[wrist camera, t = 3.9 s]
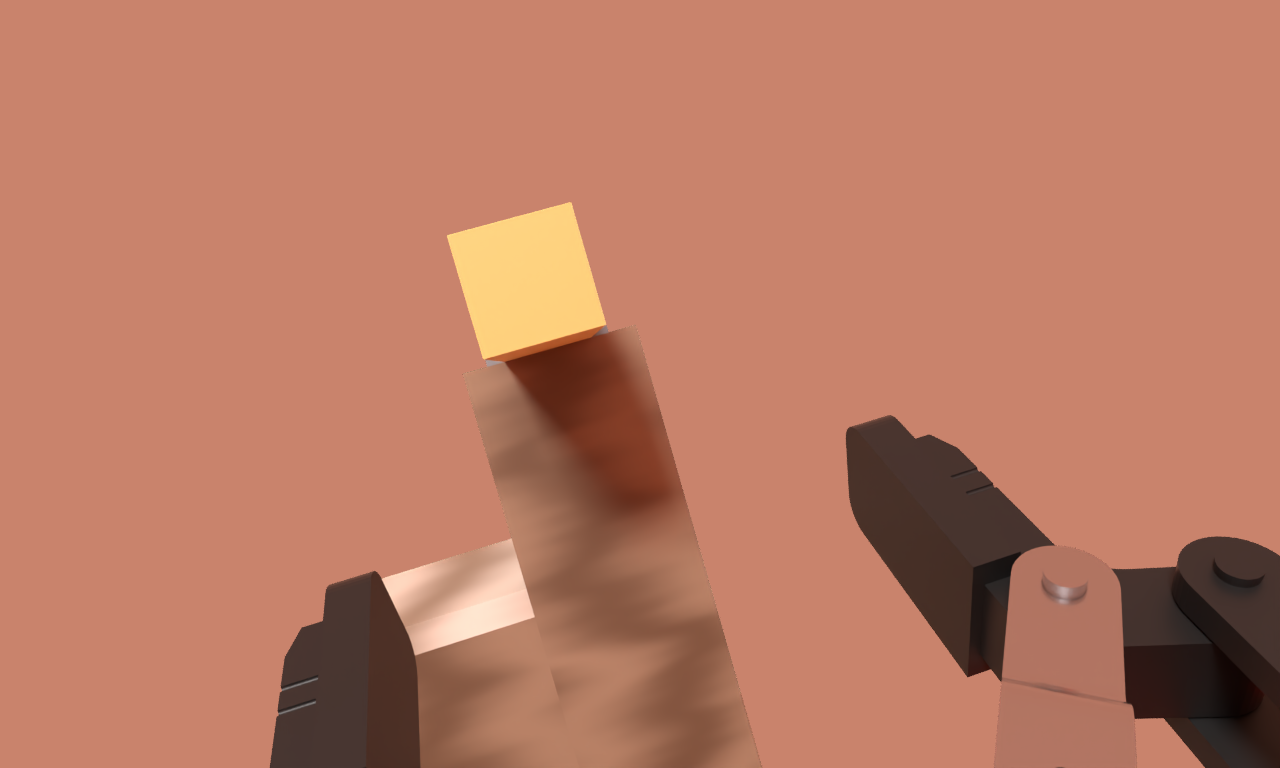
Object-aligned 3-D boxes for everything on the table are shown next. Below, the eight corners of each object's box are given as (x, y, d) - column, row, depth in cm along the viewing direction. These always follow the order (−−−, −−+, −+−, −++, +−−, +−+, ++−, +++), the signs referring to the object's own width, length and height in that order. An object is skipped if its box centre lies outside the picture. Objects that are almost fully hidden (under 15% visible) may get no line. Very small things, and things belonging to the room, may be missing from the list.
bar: (441, 371, 20) (392, 204, 20) (495, 369, 38) (469, 282, 38) (646, 313, 20) (600, 150, 20) (603, 338, 38) (578, 252, 38)
